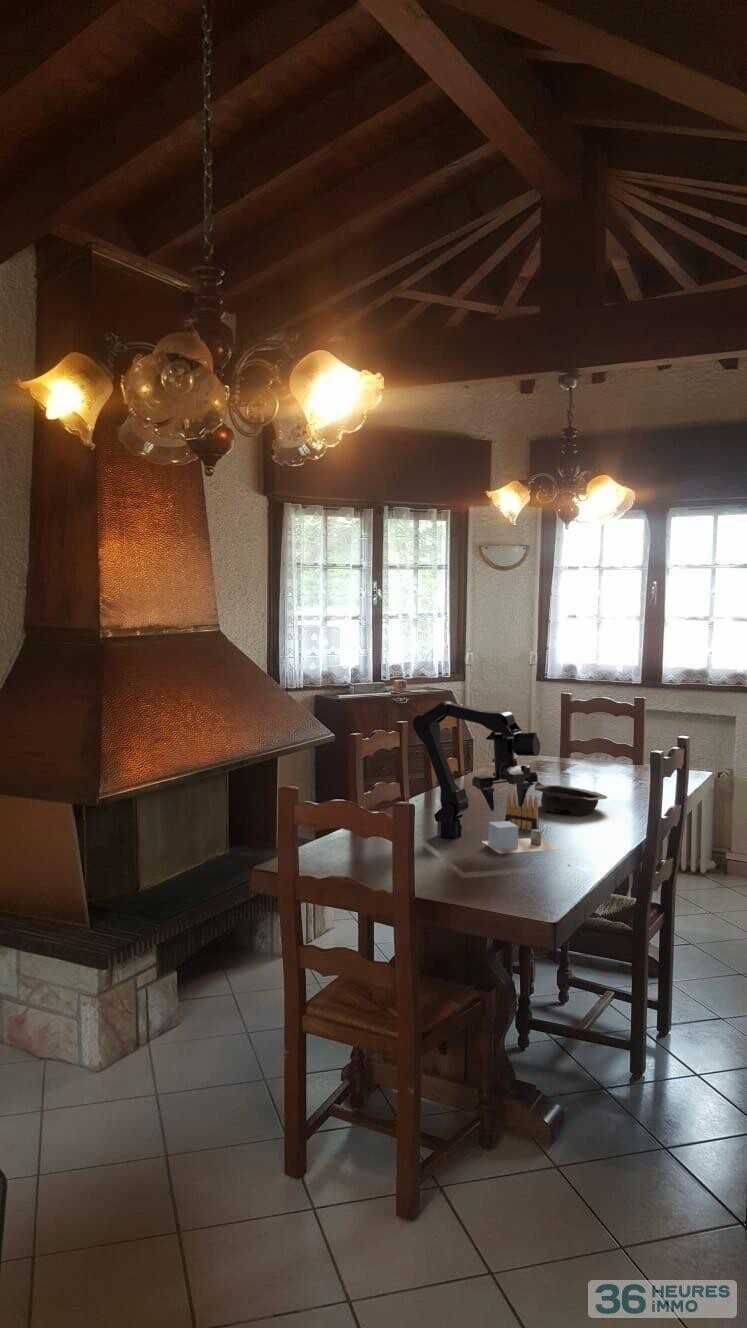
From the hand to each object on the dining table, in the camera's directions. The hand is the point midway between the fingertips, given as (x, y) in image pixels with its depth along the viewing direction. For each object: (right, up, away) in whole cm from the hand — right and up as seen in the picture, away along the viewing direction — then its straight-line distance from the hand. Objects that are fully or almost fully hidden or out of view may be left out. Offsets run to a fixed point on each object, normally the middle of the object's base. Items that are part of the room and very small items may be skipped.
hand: (506, 808), depth 261 cm
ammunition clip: (+8, -11, +22) cm, 26 cm away
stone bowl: (+29, -9, +51) cm, 60 cm away
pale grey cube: (-1, -11, 0) cm, 11 cm away
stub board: (+4, -12, +2) cm, 13 cm away
